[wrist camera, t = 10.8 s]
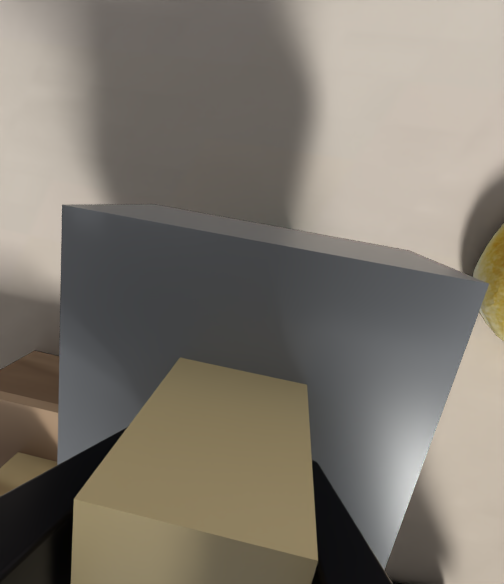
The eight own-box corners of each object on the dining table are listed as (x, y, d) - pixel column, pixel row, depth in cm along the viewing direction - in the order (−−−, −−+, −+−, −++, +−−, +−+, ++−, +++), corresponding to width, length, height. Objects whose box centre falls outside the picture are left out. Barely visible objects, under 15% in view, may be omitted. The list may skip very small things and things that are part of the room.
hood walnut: (153, 492, 24) (74, 654, 15) (34, 463, 25) (-106, 602, 16) (166, 379, 22) (80, 495, 13) (34, 350, 22) (-130, 442, 14)
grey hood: (345, 467, 14) (425, 895, 5) (134, 418, 15) (-98, 729, 6) (409, 250, 12) (744, 389, 3) (153, 204, 12) (-186, 206, 4)
